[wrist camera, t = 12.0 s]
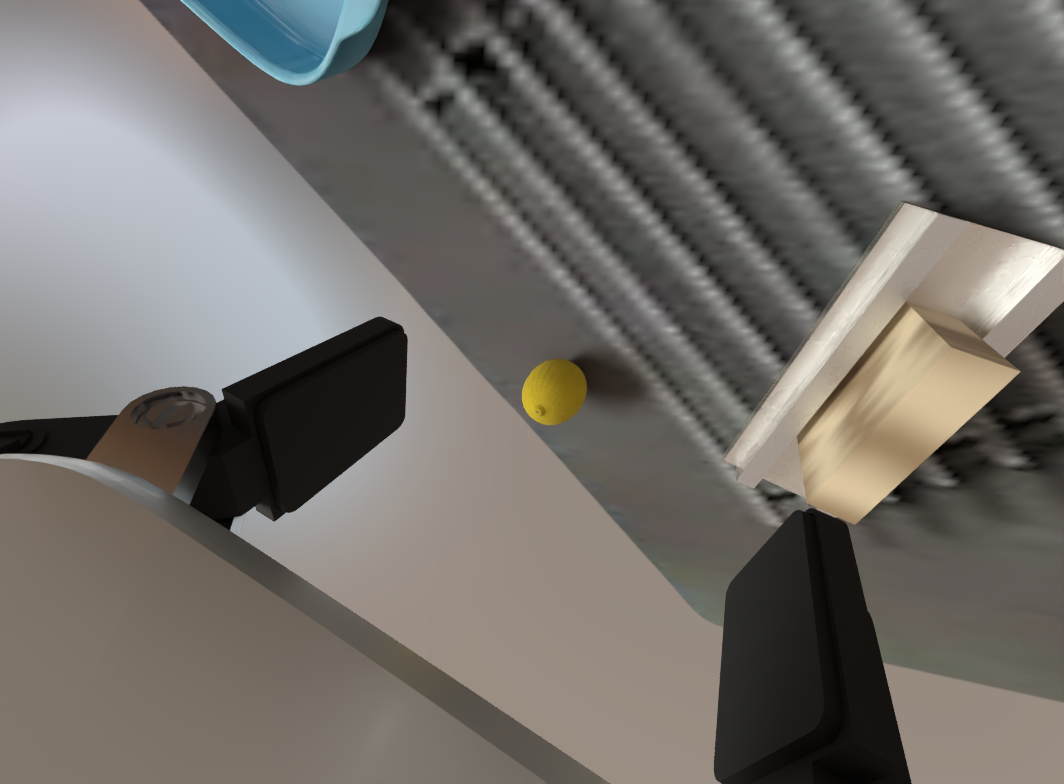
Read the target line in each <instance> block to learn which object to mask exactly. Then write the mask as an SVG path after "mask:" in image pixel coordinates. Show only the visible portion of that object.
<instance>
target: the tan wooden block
mask: <svg viewBox="0 0 1064 784" xmlns="http://www.w3.org/2000/svg"><path fill="white" fill-rule="evenodd" d="M1020 372H1021V371H1019V370H1018V369H1017V368H1016V367H1015V366H1013V365H1012V364H1011V363H1010V362H1009V361H1007V360H1006V359H1005V358H1004V357H1003V356H1001V355H1000V354H999V353H998V352H997V351H995V350H994V349H993V348H992V347H991V346H989V345H988V344H987V343H986V342H985V341H983V340H982V339H981V338H980V337H979V336H977V335H976V334H975V333H974V332H973V331H971V330H970V329H969V328H968V327H967V326H966V325H964V324H963V323H962V322H961V321H960V320H958V319H957V318H954V317H951V316H948V315H945V314H942V313H939V312H936V311H933V310H930V309H927V308H924V307H921V306H918V305H915V304H912V303H909V302H906V301H905V303H904V304H903V305H902V306H901V308H900V309H899V310H898V311H897V313H896V314H895V315H894V316H893V317H892V319H891V320H890V321H889V322H888V324H887V325H886V326H885V327H884V329H883V330H882V331H881V332H880V334H879V335H878V336H877V337H876V338H875V340H874V341H873V342H872V343H871V345H870V346H869V347H868V348H867V350H866V351H865V352H864V353H863V355H862V356H861V357H860V358H859V360H858V361H857V362H856V363H855V365H854V366H853V367H852V368H851V370H850V371H849V372H848V373H847V375H846V376H845V377H844V378H843V380H842V381H841V382H840V383H839V385H838V386H837V387H836V388H835V390H834V391H833V392H832V393H831V395H830V396H829V397H828V398H827V400H826V401H825V402H824V404H823V405H822V406H821V407H820V409H819V410H818V411H817V412H816V414H815V415H814V416H813V417H812V419H811V420H810V421H809V422H808V424H807V425H806V426H805V427H804V429H803V430H802V431H801V432H800V434H799V435H798V436H797V442H798V449H799V456H800V462H801V469H802V476H803V483H804V489H805V496H806V503H808V504H810V505H812V506H815V507H817V508H819V509H821V510H823V511H825V512H828V513H830V514H832V515H834V516H836V517H839V518H841V519H843V520H845V521H847V522H850V523H852V524H854V525H855V524H856V523H857V522H858V521H860V520H861V519H862V518H863V517H864V516H865V515H866V514H867V513H868V512H869V511H870V510H871V509H873V508H874V507H875V506H876V505H877V504H878V503H879V502H880V501H881V500H882V499H883V498H885V497H886V496H887V495H888V494H889V493H890V492H891V491H892V490H893V489H894V488H895V487H896V486H898V485H899V484H900V483H901V482H902V481H903V480H904V479H905V478H906V477H907V476H908V475H909V474H911V473H912V472H913V471H914V470H915V469H916V468H917V467H918V466H919V465H920V464H921V463H922V462H924V461H925V460H926V459H927V458H928V457H929V456H930V455H931V454H932V453H933V452H934V451H935V450H937V449H938V448H939V447H940V446H941V445H942V444H943V443H944V442H945V441H946V440H947V439H948V438H950V437H951V436H952V435H953V434H954V433H955V432H956V431H957V430H958V429H959V428H960V427H961V426H963V425H964V424H965V423H966V422H967V421H968V420H969V419H970V418H971V417H972V416H973V415H974V414H976V413H977V412H978V411H979V410H980V409H981V408H982V407H983V406H984V405H985V404H986V403H987V402H989V401H990V400H991V399H992V398H993V397H994V396H995V395H996V394H997V393H998V392H999V391H1000V390H1002V389H1003V388H1004V387H1005V386H1006V385H1007V384H1008V383H1009V382H1010V381H1011V380H1012V379H1013V378H1015V377H1016V376H1017V375H1018V374H1019V373H1020Z"/></svg>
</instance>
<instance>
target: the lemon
mask: <svg viewBox="0 0 1064 784" xmlns="http://www.w3.org/2000/svg"><path fill="white" fill-rule="evenodd" d="M586 393H587V382H586V379H585V376H584V374H583V372H582V371H581V369H580V368H579V367H578V366H577V365H575V364H574V363H572V362H570V361H568V360H564V359H551V360H548V361H545V362H543V363H541V364H540V365H539V366H537V367H536V368H535V369H534V370H533V371H532V372H531V373H530V375H529V376H528V378H527V379H526V381H525V384H524V387H523V391H522V401H523V406H524V408H525V410H526V412H527V413H528V414H529V416H530V417H532V418H533V419H534V420H535V421H537V422H539V423H542V424H545V425H556V424H560V423H562V422H565V421H567V420H568V419H570V418H571V417H572V416H573V415H575V414H576V413H577V412H578V411H579V409H580V408H581V406H582V404H583V403H584V400H585V397H586Z"/></svg>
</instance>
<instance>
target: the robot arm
mask: <svg viewBox="0 0 1064 784" xmlns="http://www.w3.org/2000/svg"><path fill="white" fill-rule="evenodd" d="M407 342H408V340H407V335H406V334H405V333H404V329H403V327H402V326H401V325H399V324H397V323H395V322H392V321H390V320H388V319H386V318H383V317H376V318H374V319H372V320H369V321H367V322H365V323H363V324H361V325H359V326H357V327H354V328H352V329H350V330H348V331H346V332H344V333H341V334H340V335H337V336H335V337H333V338H331V339H329V340H326V341H324V342H322V343H320V344H318V345H316V346H314V347H311V348H309V349H307V350H305V351H303V352H301V353H299V354H296V355H294V356H292V357H290V358H288V359H286V360H283V361H281V362H279V363H277V364H275V365H273V366H271V367H268V368H266V369H264V370H262V371H260V372H258V373H256V374H253V375H251V376H249V377H247V378H245V379H243V380H240V381H238V382H236V383H234V384H232V385H230V386H228V387H225V388H223V389H222V392H223V395H224V400H222V401H220V402H218V403H216V401H215V398H214V396H213V395H212V394H210V393H209V392H208V391H206V390H203V389H199V388H195V387H185V386H183V387H170V388H165V389H160V390H155V391H153V392H150V393H147V394H145V395H142V396H140V397H138V398H137V399H135V400H133V401H131V402H130V403H129V404H128V405H127V406H126V407H125V408H124V409H123V410H122V411H121V413H120V414H119V415H109V416H90V417H74V418H73V417H72V418H55V419H54V418H53V419H35V420H20V421H12V422H5V423H0V784H610V783H608V782H607V781H605V780H604V779H602V778H601V777H600V776H598V775H597V774H595V773H594V772H592V771H591V770H589V769H587V768H586V767H585V766H583V765H582V764H580V763H579V762H577V761H576V760H574V759H573V758H571V757H570V756H568V755H567V754H565V753H564V752H562V751H561V750H559V749H558V748H556V747H555V746H553V745H552V744H550V743H549V742H547V741H546V740H544V739H543V738H541V737H540V736H538V735H537V734H535V733H534V732H532V731H531V730H530V729H528V728H527V727H525V726H523V725H522V724H521V723H519V722H517V721H516V720H515V719H513V718H511V717H510V716H509V715H507V714H506V713H504V712H503V711H501V710H500V709H498V708H497V707H495V706H494V705H492V704H491V703H489V702H488V701H486V700H485V699H483V698H482V697H480V696H479V695H477V694H476V693H474V692H473V691H471V690H470V689H468V688H467V687H465V686H464V685H462V684H461V683H459V682H458V681H456V680H455V679H453V678H452V677H450V676H449V675H447V674H446V673H444V672H443V671H441V670H440V669H438V668H437V667H435V666H434V665H432V664H431V663H429V662H428V661H426V660H425V659H423V658H422V657H420V656H419V655H417V654H416V653H414V652H413V651H411V650H410V649H408V648H407V647H405V646H404V645H402V644H401V643H399V642H398V641H396V640H395V639H393V638H392V637H390V636H389V635H387V634H386V633H384V632H383V631H381V630H379V629H378V628H377V627H375V626H374V625H372V624H370V623H369V622H368V621H366V620H365V619H363V618H361V617H360V616H358V615H357V614H356V613H354V612H353V611H351V610H350V609H348V608H347V607H345V606H343V605H342V604H340V603H339V602H337V601H336V600H334V599H333V598H331V597H330V596H328V595H327V594H325V593H324V592H322V591H321V590H319V589H318V588H316V587H315V586H313V585H312V584H310V583H309V582H307V581H306V580H304V579H303V578H301V577H299V576H298V575H296V574H295V573H293V572H292V571H290V570H289V569H287V568H286V567H284V566H283V565H281V564H280V563H278V562H277V561H275V560H274V559H272V558H271V557H269V556H268V555H266V554H264V553H263V552H261V551H260V550H258V549H257V548H255V547H254V546H252V545H251V544H249V543H248V542H246V541H245V540H243V539H242V538H240V537H239V534H240V531H241V528H242V525H243V521H244V518H245V515H246V512H248V511H249V510H250V509H252V508H253V507H256V510H257V511H258V512H260V513H261V514H263V515H264V516H266V517H268V518H269V519H271V520H272V521H276V520H277V519H278V518H280V517H281V516H282V515H284V514H285V513H286V512H287V513H289V512H293V511H295V510H297V509H298V508H300V507H301V506H302V505H303V504H304V503H306V502H307V501H308V500H309V499H311V498H312V497H313V496H314V495H315V494H317V493H318V492H319V491H321V490H322V489H323V488H324V487H326V486H327V485H328V484H329V483H331V482H332V481H333V480H334V479H335V478H337V477H338V476H339V475H341V474H342V473H343V472H344V471H346V470H347V469H348V468H349V467H350V466H352V465H353V464H354V463H356V462H357V461H358V460H359V459H361V458H362V457H363V456H364V455H366V454H367V453H368V452H369V451H371V450H372V449H373V448H374V447H375V446H377V445H378V444H379V443H380V442H382V441H383V440H384V439H385V438H387V437H388V436H389V435H391V434H392V433H393V432H394V431H395V430H397V429H398V428H399V427H400V426H401V424H402V423H403V421H404V418H405V403H406V373H407ZM723 630H724V631H723V643H722V658H721V671H720V686H719V700H718V714H717V729H716V742H715V756H714V774H715V778H716V780H717V781H719V782H720V783H722V784H912V783H911V779H910V775H909V771H908V767H907V762H906V759H905V754H904V750H903V746H902V741H901V737H900V733H899V729H898V725H897V721H896V716H895V712H894V708H893V704H892V699H891V695H890V691H889V687H888V683H887V679H886V674H885V670H884V666H883V662H882V658H881V653H880V649H879V645H878V641H877V637H876V632H875V628H874V624H873V621H872V618H871V616H870V613H869V612H868V611H867V607H866V602H865V598H864V594H863V589H862V585H861V581H860V577H859V572H858V568H857V564H856V559H855V555H854V551H853V546H852V542H851V538H850V534H849V529H848V526H847V524H846V523H845V522H844V521H842V520H839V519H837V518H835V517H832V516H830V515H828V514H826V513H823V512H821V511H819V510H817V509H814V508H810V509H808V510H806V511H805V512H803V511H801V510H796V511H794V512H793V513H792V514H791V515H790V516H789V518H788V519H787V520H786V521H785V522H784V523H783V524H782V525H781V527H780V528H779V529H778V530H777V531H776V532H775V533H774V534H773V535H772V537H771V538H770V539H769V540H768V541H767V542H766V543H765V544H764V545H763V547H762V548H761V549H760V550H759V551H758V552H757V553H756V554H755V556H754V557H753V558H752V559H751V560H750V561H749V562H748V563H747V564H746V566H745V567H744V568H743V569H742V570H741V571H740V572H739V573H738V575H737V576H736V577H735V578H734V579H733V580H732V582H731V583H730V585H729V587H728V590H727V593H726V600H725V614H724V629H723Z"/></svg>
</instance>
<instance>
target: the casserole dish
mask: <svg viewBox="0 0 1064 784" xmlns="http://www.w3.org/2000/svg"><path fill="white" fill-rule="evenodd" d="M181 1H182V2H183V3H184V4H185V5H186V6H187V7H189V8H190V9H191V10H192V11H193V12H194V13H195V14H196V15H197V16H199V17H200V18H201V19H202V20H203V21H204V22H205V23H206V24H208V25H209V26H210V27H211V28H212V29H213V30H214V31H215V32H217V33H218V34H219V35H220V36H221V37H222V38H223V39H225V40H226V41H227V42H228V43H229V44H230V45H232V46H233V47H234V48H235V49H236V50H237V51H239V52H240V53H241V54H242V55H243V56H245V57H246V58H247V59H248V60H250V61H251V62H252V63H253V64H255V65H256V66H257V67H259V68H260V69H262V70H263V71H265V72H266V73H267V74H269V75H271V76H273V77H274V78H276V79H278V80H280V81H282V82H285V83H288V84H292V85H309V84H312V83H315V82H318V81H320V80H323V79H326V78H328V77H331V76H334V75H337V74H339V73H342V72H344V71H346V70H348V69H350V68H352V67H353V66H355V65H356V64H358V63H359V62H360V61H361V60H362V59H363V58H364V57H365V56H366V54H367V53H368V52H369V50H370V49H371V47H372V45H373V43H374V41H375V39H376V37H377V35H378V32H379V30H380V28H381V25H382V21H383V18H384V15H385V12H386V8H387V5H388V1H389V0H181Z"/></svg>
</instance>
